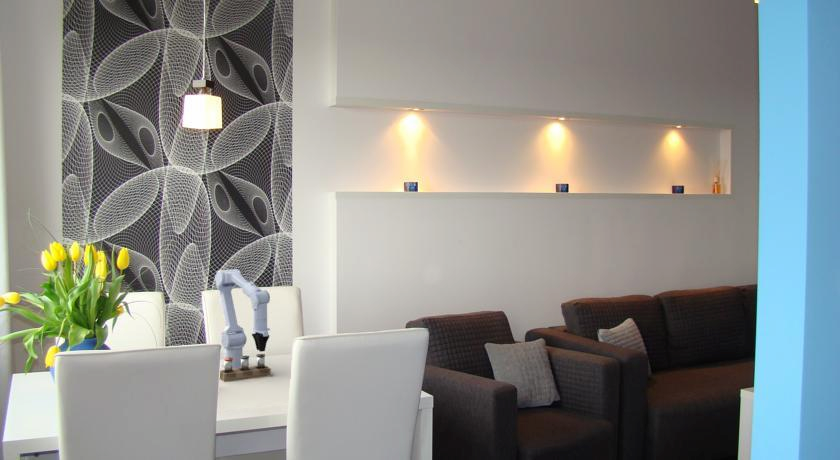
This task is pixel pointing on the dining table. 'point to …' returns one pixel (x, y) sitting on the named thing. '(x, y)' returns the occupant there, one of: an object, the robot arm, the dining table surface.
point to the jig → (245, 373)
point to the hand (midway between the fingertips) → (260, 350)
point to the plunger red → (228, 364)
